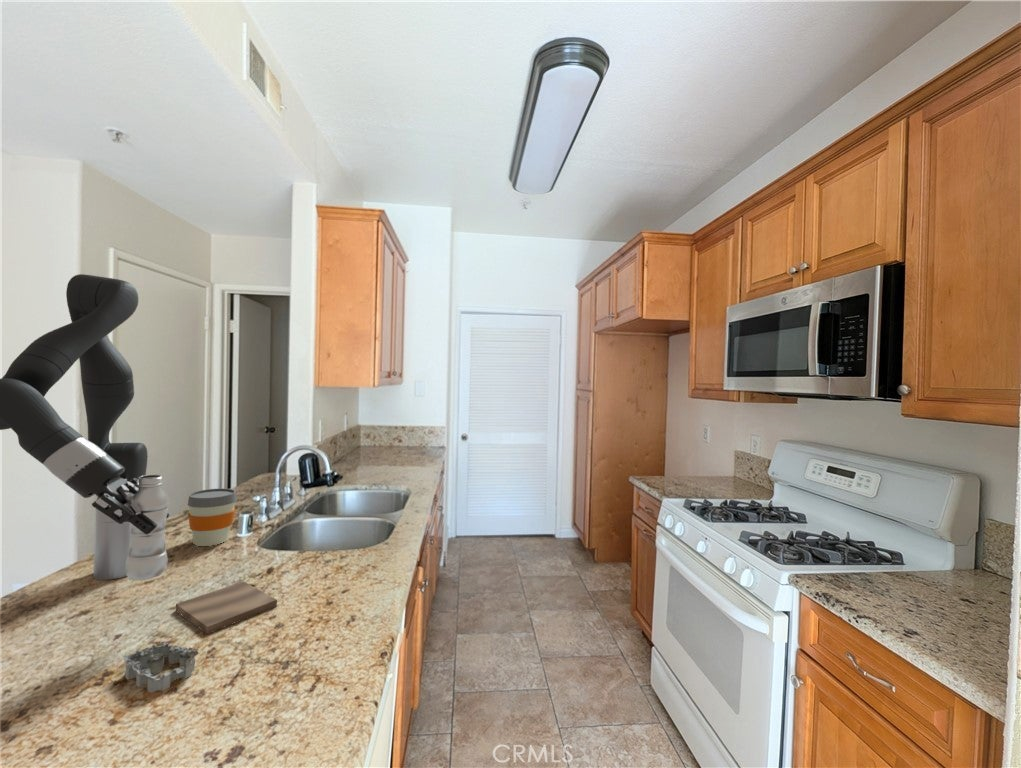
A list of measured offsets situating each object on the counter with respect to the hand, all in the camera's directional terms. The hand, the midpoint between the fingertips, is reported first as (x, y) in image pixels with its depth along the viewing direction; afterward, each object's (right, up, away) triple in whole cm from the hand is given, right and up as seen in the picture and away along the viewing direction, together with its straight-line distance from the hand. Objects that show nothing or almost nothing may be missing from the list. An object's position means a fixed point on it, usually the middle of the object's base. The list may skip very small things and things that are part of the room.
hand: (158, 524), depth 88 cm
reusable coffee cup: (-23, -21, +49) cm, 58 cm away
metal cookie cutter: (+10, -22, -12) cm, 27 cm away
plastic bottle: (-2, -10, -1) cm, 11 cm away
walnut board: (+7, -22, +10) cm, 25 cm away
